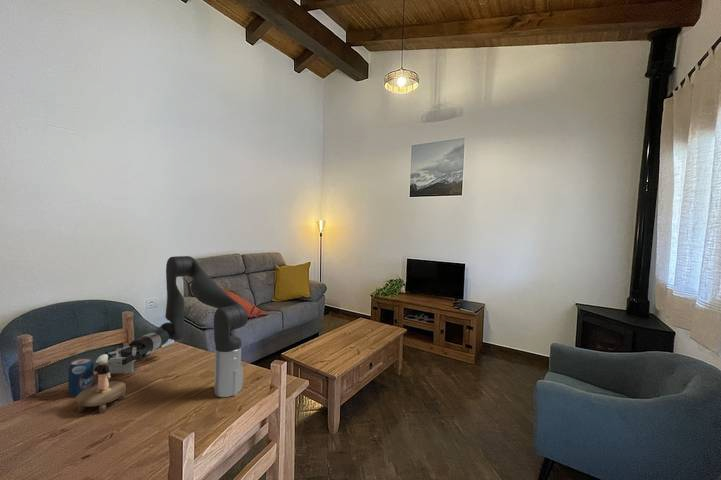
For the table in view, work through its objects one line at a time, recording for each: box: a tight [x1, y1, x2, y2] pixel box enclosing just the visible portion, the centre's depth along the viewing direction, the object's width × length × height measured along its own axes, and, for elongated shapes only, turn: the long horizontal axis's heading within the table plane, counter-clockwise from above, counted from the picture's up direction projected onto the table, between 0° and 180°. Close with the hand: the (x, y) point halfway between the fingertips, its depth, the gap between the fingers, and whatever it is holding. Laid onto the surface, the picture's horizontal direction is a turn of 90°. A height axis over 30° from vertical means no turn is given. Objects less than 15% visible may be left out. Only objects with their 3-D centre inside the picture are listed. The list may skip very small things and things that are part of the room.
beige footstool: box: [76, 380, 127, 415], centre depth 106 cm, size 13×13×5 cm
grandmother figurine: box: [93, 353, 112, 393], centre depth 106 cm, size 8×4×13 cm, turn 84°
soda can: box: [67, 357, 95, 398], centre depth 113 cm, size 7×7×12 cm
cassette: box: [106, 354, 135, 374], centre depth 129 cm, size 12×2×8 cm, turn 96°
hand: (111, 361), depth 109 cm, fingers open, 8 cm apart
